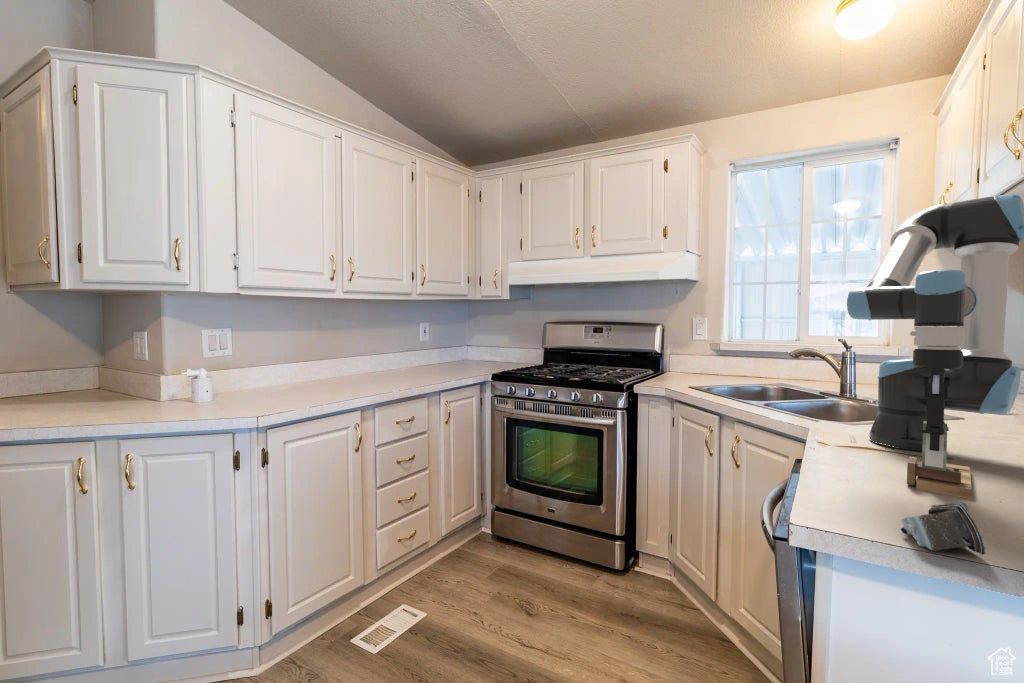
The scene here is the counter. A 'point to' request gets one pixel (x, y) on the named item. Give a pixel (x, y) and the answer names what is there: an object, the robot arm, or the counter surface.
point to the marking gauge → (931, 471)
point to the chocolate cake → (945, 528)
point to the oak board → (948, 483)
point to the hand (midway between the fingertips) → (934, 464)
